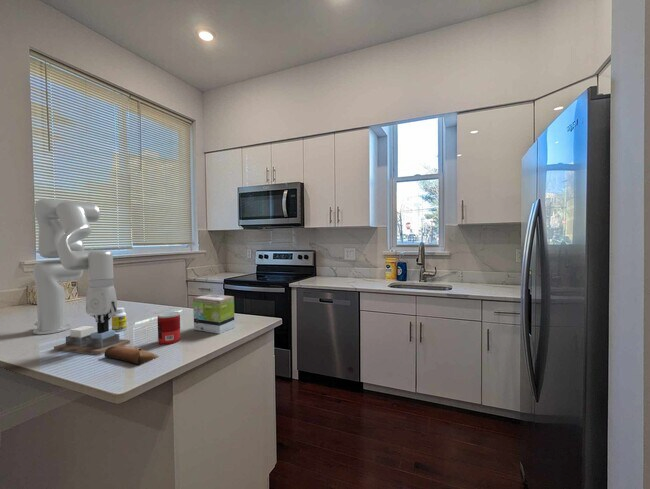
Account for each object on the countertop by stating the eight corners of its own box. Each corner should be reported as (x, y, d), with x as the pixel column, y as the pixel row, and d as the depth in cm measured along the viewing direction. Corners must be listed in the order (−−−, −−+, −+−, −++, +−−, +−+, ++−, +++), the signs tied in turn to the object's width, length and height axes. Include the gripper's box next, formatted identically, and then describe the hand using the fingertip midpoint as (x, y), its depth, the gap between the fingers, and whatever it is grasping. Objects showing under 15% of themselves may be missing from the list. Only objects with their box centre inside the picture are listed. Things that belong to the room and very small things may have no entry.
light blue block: (90, 342, 112) (90, 333, 112) (104, 338, 117) (104, 329, 117) (101, 343, 111) (101, 334, 111) (115, 339, 116) (114, 330, 116)
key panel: (54, 349, 112) (53, 338, 112) (86, 339, 124) (86, 329, 124) (100, 354, 107) (100, 342, 107) (130, 343, 118) (129, 332, 118)
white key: (70, 338, 115) (70, 329, 114) (84, 334, 120) (84, 325, 119) (81, 339, 113) (80, 330, 113) (94, 335, 118) (94, 326, 118)
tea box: (193, 330, 133) (192, 297, 133) (209, 324, 143) (208, 293, 142) (220, 334, 128) (219, 299, 127) (235, 327, 137) (234, 295, 137)
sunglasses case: (162, 356, 104) (152, 342, 101) (145, 373, 99) (135, 360, 96) (128, 349, 112) (118, 336, 108) (111, 365, 106) (100, 352, 103)
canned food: (184, 339, 122) (184, 312, 122) (168, 345, 115) (168, 317, 114) (170, 337, 125) (169, 310, 124) (153, 343, 117) (152, 315, 117)
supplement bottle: (119, 332, 133) (118, 310, 132) (109, 331, 134) (108, 309, 134) (129, 328, 138) (128, 307, 138) (119, 328, 139) (118, 306, 139)
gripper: (75, 284, 112) (77, 334, 112) (107, 285, 108) (109, 336, 108) (95, 281, 119) (97, 328, 119) (126, 282, 115) (127, 330, 116)
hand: (103, 331), depth 114 cm, fingers closed
